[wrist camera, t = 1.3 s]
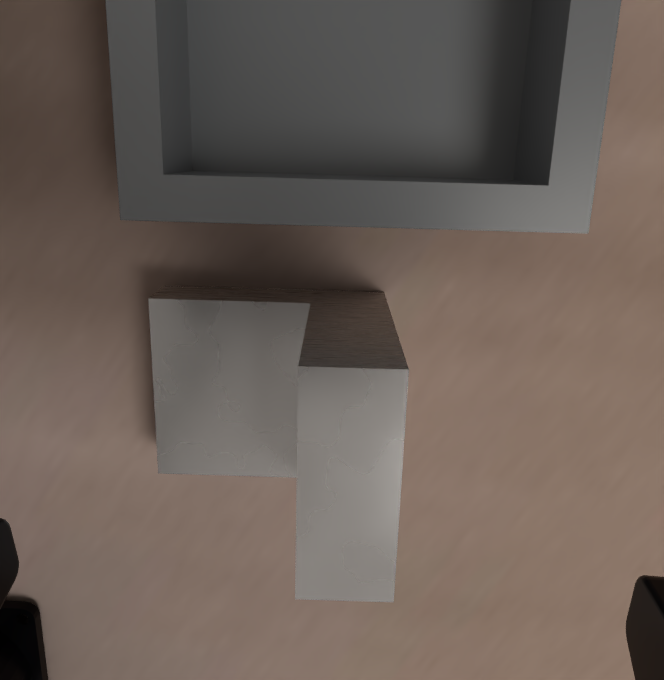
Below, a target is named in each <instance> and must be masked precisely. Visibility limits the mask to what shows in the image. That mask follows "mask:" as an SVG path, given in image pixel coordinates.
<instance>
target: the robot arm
mask: <svg viewBox="0 0 664 680" xmlns="http://www.w3.org/2000/svg"><path fill="white" fill-rule="evenodd" d="M18 568H19V560H18V555H17V551H16V548H15V544H14V540H13V536H12V532H11V528H10V525H9V523H8V522H7V521H6V520H4V519H2V518H0V680H48V676H47V668H46V660H45V652H44V644H43V636H42V628H41V620H40V612H39V610H38V608H37V607H36V606H35V605H34V604H32V603H30V602H25V601H5V599H6V597H7V595H8V593H9V591H10V589H11V587H12V585H13V583H14V581H15V579H16V576H17V573H18ZM21 614H24V615H26V616H27V617H28V618H27V617H24V616H23V615H21ZM626 637H627V643H628V647H629V652H630V657H631V662H632V666H633V671H634V676H635V680H664V577H658V576H647V575H643V576H640V577H639V578H638V579H637V581H636V583H635V587H634V591H633V595H632V599H631V603H630V607H629V612H628V616H627V620H626Z"/></svg>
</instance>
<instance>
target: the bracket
mask: <svg viewBox="0 0 664 680" xmlns="http://www.w3.org/2000/svg"><path fill="white" fill-rule="evenodd" d="M148 301H149V318H150V336H151V353H152V371H153V389H154V406H155V424H156V441H157V459H158V473H163V474H196V475H229V476H262V477H295V478H297V496H296V576H295V599H305V600H337V601H369V602H394V588H395V573H396V558H397V542H398V527H399V512H400V496H401V481H402V466H403V450H404V435H405V420H406V404H407V389H408V374H409V369H408V366H407V363H406V359H405V356H404V353H403V350H402V347H401V344H400V341H399V337H398V334H397V331H396V328H395V325H394V322H393V319H392V315H391V312H390V309H389V306H388V303H387V300H386V297H385V293H384V292H370V291H335V290H301V289H267V288H232V287H198V286H164V287H163V288H162V289H160V290H159V291H158V292H156V293H155V294H154V295H152V296H151V297H150V298H148Z"/></svg>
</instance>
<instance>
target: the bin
mask: <svg viewBox="0 0 664 680" xmlns="http://www.w3.org/2000/svg"><path fill="white" fill-rule="evenodd" d="M105 1H106V16H107V31H108V45H109V60H110V75H111V90H112V105H113V119H114V134H115V149H116V164H117V179H118V193H119V208H120V220H135V221H170V222H204V223H239V224H274V225H309V226H344V227H379V228H414V229H448V230H483V231H518V232H553V233H588V232H589V225H590V218H591V211H592V204H593V197H594V189H595V182H596V175H597V168H598V161H599V154H600V147H601V140H602V133H603V126H604V119H605V112H606V105H607V98H608V91H609V84H610V77H611V70H612V63H613V55H614V48H615V41H616V34H617V27H618V20H619V13H620V6H621V0H105Z"/></svg>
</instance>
